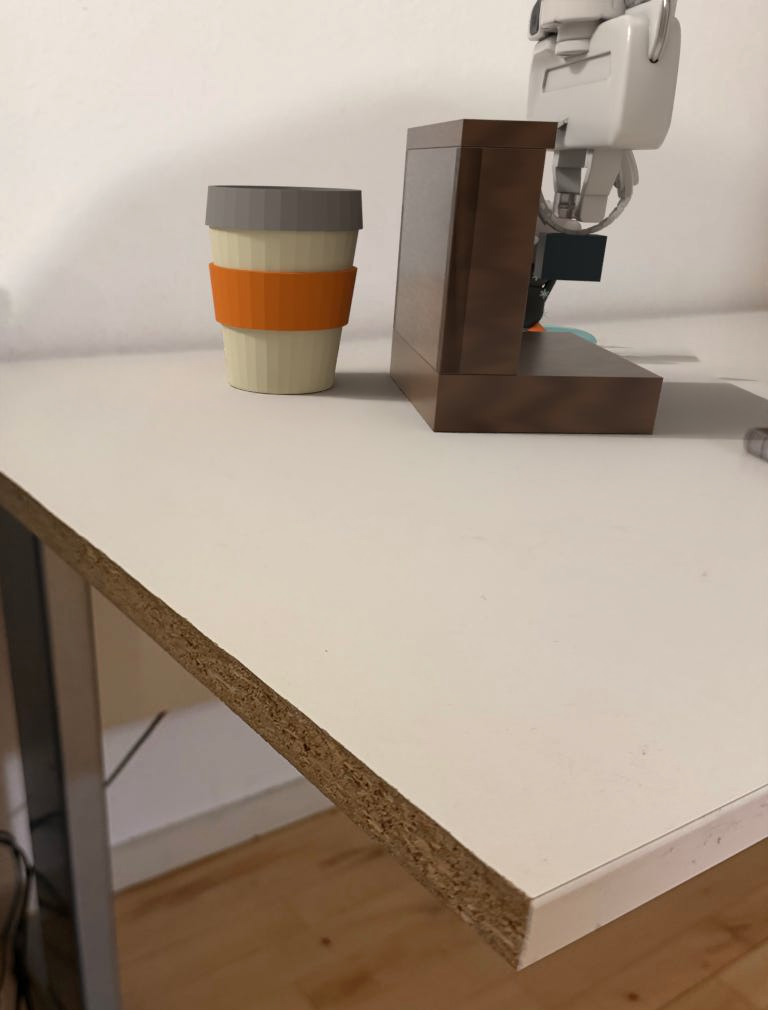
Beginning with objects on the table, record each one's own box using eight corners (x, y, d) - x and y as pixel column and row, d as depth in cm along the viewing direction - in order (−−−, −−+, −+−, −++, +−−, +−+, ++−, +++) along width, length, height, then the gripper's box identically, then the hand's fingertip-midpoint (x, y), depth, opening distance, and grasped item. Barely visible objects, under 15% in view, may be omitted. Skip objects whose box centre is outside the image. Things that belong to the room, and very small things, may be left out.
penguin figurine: (591, 348, 101) (617, 190, 94) (599, 367, 91) (629, 192, 84) (403, 337, 104) (415, 183, 97) (392, 353, 95) (404, 185, 88)
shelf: (563, 377, 86) (601, 134, 77) (652, 434, 68) (714, 126, 60) (389, 375, 85) (407, 128, 76) (433, 431, 67) (463, 118, 59)
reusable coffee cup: (378, 394, 78) (392, 192, 71) (231, 402, 74) (231, 189, 67) (321, 365, 88) (328, 187, 81) (190, 371, 84) (186, 184, 77)
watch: (627, 283, 70) (656, 112, 65) (516, 278, 71) (537, 110, 66) (614, 277, 75) (640, 119, 70) (511, 273, 76) (529, 116, 71)
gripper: (726, -26, 56) (676, 230, 62) (602, 20, 74) (573, 214, 80) (621, -31, 55) (581, 227, 61) (522, 16, 74) (499, 212, 80)
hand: (576, 220), depth 71 cm, fingers closed on watch, 4 cm apart
